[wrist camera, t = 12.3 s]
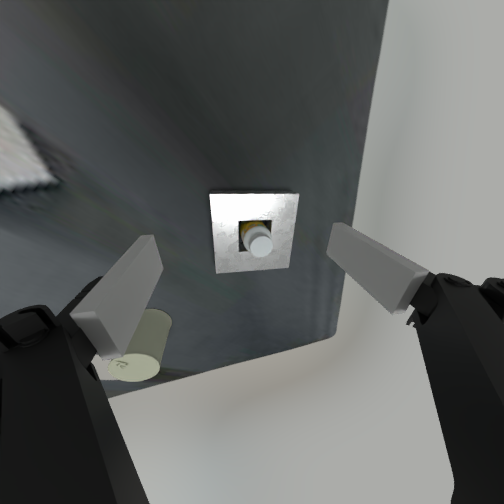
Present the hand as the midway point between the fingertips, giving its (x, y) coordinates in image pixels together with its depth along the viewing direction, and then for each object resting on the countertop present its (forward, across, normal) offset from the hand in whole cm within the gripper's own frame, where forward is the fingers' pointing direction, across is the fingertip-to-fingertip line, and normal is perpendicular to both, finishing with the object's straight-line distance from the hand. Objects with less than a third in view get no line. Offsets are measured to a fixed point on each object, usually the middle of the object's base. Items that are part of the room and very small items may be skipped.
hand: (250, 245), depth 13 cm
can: (+23, -22, -32) cm, 45 cm away
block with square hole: (+24, +4, -8) cm, 25 cm away
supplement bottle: (+24, +4, -8) cm, 26 cm away
